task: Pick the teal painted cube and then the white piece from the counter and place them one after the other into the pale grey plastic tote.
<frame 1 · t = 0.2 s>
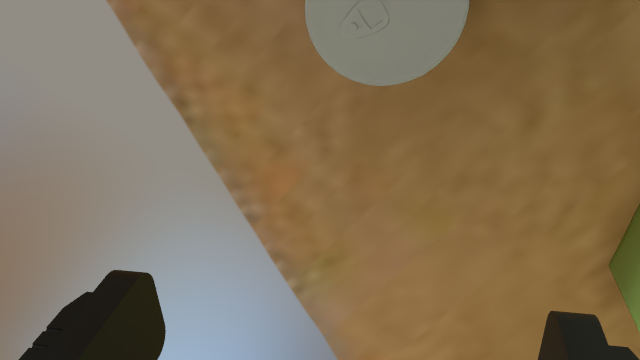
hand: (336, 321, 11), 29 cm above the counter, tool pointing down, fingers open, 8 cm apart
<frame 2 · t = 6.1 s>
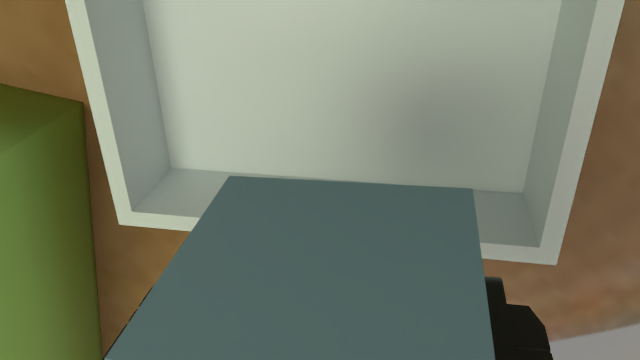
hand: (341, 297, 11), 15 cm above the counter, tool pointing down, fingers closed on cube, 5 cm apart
tote: (339, 60, 24), on the counter
cube: (348, 277, 12), point 14 cm above the counter, touching gripper
when the fingers open (4 cm above the counter, at t = 7.9 s): cube drops 2 cm, resting on tote.
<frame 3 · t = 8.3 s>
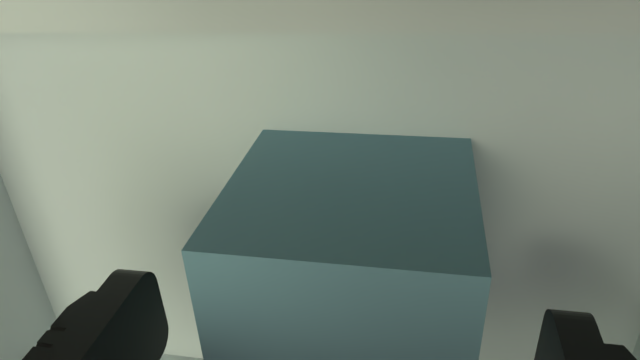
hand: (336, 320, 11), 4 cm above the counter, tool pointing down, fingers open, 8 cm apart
tote: (307, 205, 15), on the counter
cube: (362, 220, 14), point 1 cm above the counter, touching tote
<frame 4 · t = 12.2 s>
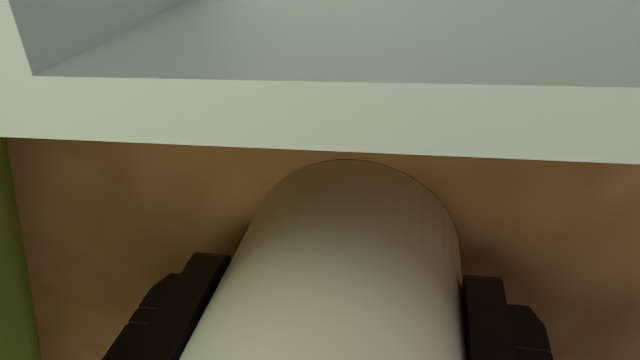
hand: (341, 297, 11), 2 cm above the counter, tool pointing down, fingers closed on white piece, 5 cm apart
white piece: (352, 251, 13), on the counter, touching gripper
when the fingers open (5 cm above the counter, at t = 15.6 s): white piece drops 3 cm, resting on tote.
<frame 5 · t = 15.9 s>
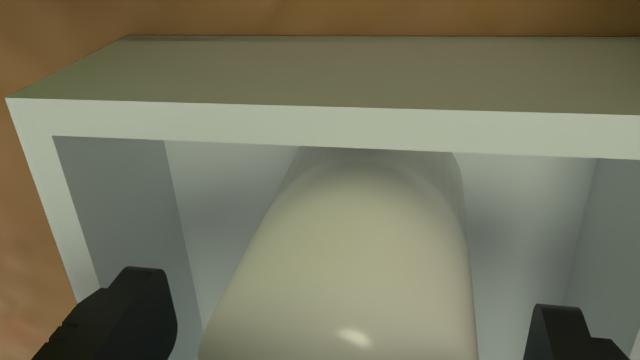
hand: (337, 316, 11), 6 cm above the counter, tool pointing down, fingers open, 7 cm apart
tote: (366, 316, 18), on the counter
white piece: (373, 191, 15), point 1 cm above the counter, touching tote
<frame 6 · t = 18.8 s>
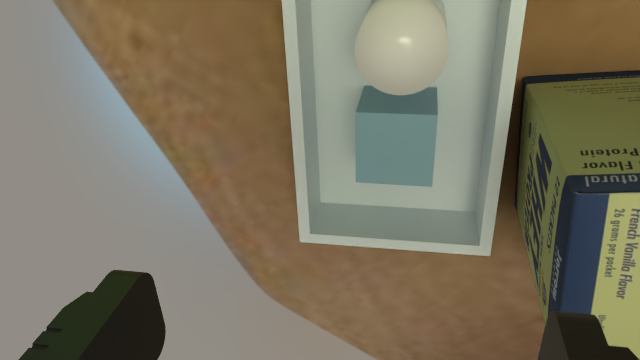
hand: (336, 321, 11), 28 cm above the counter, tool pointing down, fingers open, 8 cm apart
protein box: (633, 140, 36), on the counter
tote: (399, 95, 37), on the counter
white piece: (406, 18, 34), point 1 cm above the counter, touching tote
cube: (398, 119, 38), point 1 cm above the counter, touching tote
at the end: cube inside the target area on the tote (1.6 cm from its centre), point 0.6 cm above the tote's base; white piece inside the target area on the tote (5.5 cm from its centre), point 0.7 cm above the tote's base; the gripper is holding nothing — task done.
